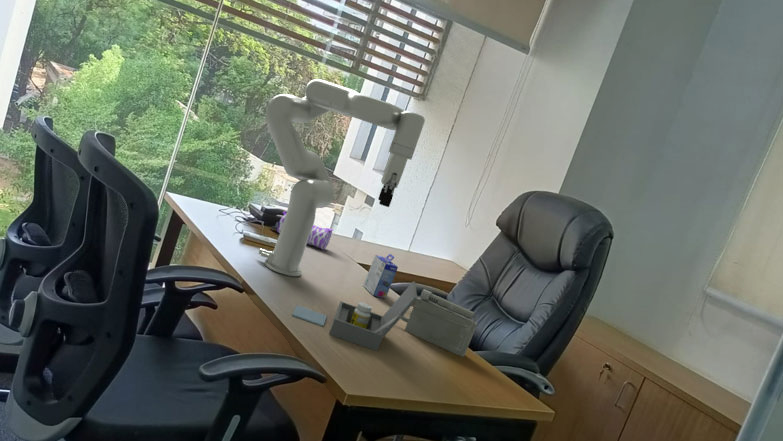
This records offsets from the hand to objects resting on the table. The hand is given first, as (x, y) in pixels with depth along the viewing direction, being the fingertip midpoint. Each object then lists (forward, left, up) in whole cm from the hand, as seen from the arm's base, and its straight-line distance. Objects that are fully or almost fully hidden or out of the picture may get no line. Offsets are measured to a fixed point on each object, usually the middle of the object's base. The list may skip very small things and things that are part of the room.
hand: (383, 203), depth 209 cm
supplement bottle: (+4, -27, -34) cm, 44 cm away
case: (+7, -28, -33) cm, 44 cm away
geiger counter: (+26, -11, -34) cm, 44 cm away
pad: (-9, -27, -33) cm, 44 cm away
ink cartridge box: (+8, +21, -34) cm, 41 cm away
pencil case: (-25, +59, -34) cm, 72 cm away
